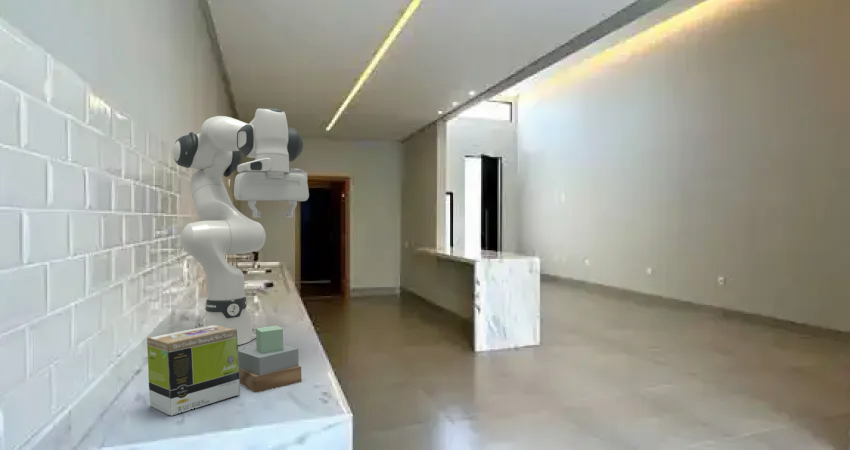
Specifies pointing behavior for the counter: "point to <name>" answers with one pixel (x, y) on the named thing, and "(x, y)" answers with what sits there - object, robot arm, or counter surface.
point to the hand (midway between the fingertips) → (273, 217)
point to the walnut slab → (270, 379)
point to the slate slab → (267, 360)
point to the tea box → (192, 368)
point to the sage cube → (269, 339)
